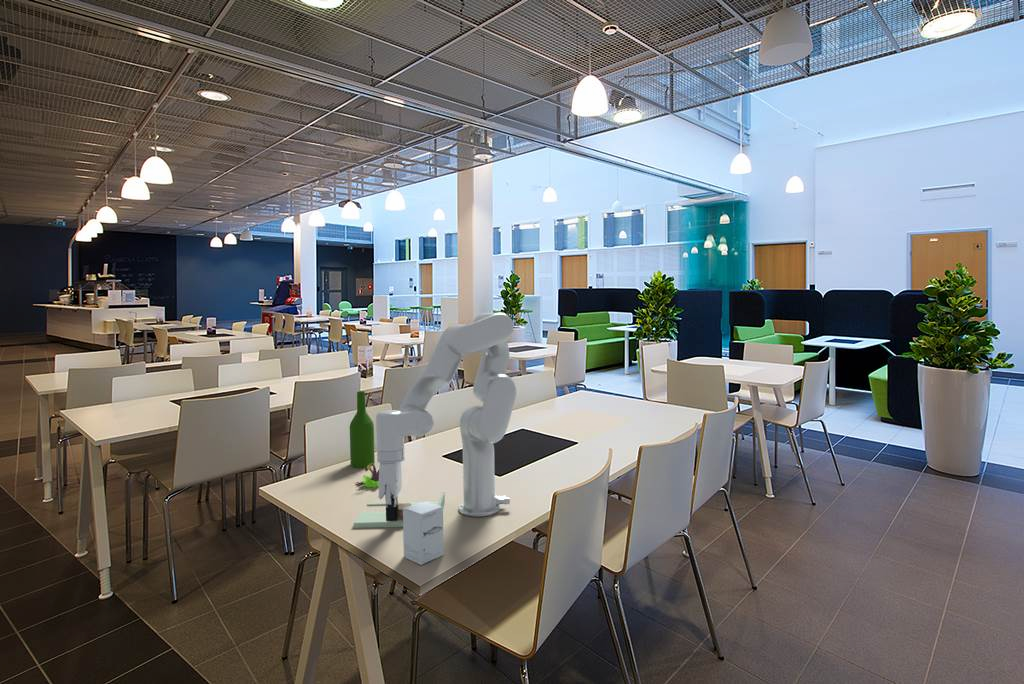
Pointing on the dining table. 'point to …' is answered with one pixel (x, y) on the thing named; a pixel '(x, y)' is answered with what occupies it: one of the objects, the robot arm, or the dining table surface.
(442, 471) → the dining table surface
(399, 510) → the walnut block
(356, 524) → the board
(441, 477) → the dining table surface
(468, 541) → the dining table surface
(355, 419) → the wine bottle
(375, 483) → the plant
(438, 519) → the supplement box
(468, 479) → the robot arm
